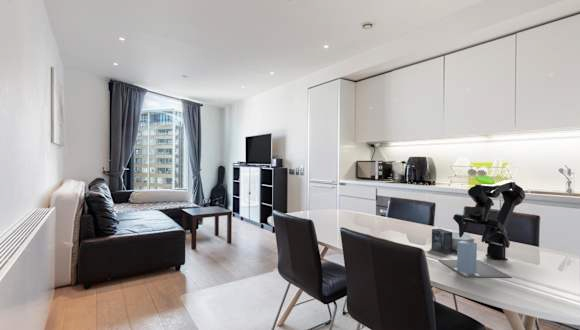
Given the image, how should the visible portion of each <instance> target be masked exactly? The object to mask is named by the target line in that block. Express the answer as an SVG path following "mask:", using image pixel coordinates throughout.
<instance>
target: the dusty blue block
mask: <svg viewBox="0 0 580 330" xmlns="http://www.w3.org/2000/svg"><path fill="white" fill-rule="evenodd" d="M477 243H478V242H477ZM477 243H476V242H474V243H473V242H469V241H465V240H464V241H460V242H458V247H457V250H456V252H457V253H456V255H457V256H456V257H457V258H456V260H457V271H459V272H462V273H465V274H468V275H471V274H474V273H476V260H478V259H477V256H478V255H477V251H478V244H477Z"/></svg>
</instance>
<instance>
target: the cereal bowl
mask: <svg viewBox="0 0 580 330" xmlns="http://www.w3.org/2000/svg"><path fill="white" fill-rule="evenodd" d="M451 232H452V251H457V247H458V242H460V241H464V240H465V241H469V242H473V243H475V237H474V236H472V235H470V234H466V233H464V234H463V236H462V237H459V232H455V231H451Z"/></svg>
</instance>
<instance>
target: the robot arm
mask: <svg viewBox="0 0 580 330" xmlns="http://www.w3.org/2000/svg"><path fill="white" fill-rule="evenodd" d="M467 194H468V196H469V197H470V198H471V199H472V200H473V202H474V203H475V206H472V207H471V206H465V209H464V214H459V213H456V214H453V218H452V219H453V220H454V221H455V222H456V223H457V225H458V233H459V237H462V236H463V234H465V231H467V228H468V224H473V225H480V226H485V229H484V232H483V234H482V236H481V241H480V242H481V243H484V244H487V248H486V254H485V257H488V258H491V259H492V260H495V261H501V260H502V261H507V260H509V258H507V257H506V253H507V249H508V248H510V246H511V245H510V244H511V242H510V239H509V237H508V233H507V231H506V229H507V226H508V224H509V221H510V219H511V217H512V215H513V212H514V211H515V208H516V207H517V206H518V205H520V204H522V202H523V200H524V199H525V197H526V193H525V191H524V188H522V186H519V185H518V184H516V182H515V181H513V180H501V181H500V182H496V183H494V184H485V183H483V184H480V183H479V184H477V183H476V184H475V185H474V186H472V187H470V188H469V189H468V190H467ZM501 195H502V198H503V203H502V206H501V208H500V210H499V211H498V214H497V216H496V218H495V219H492V218H490V216H491V214H490V211H491V208H492V207H493V206H495V204H494V201H493V199H494V198H495V199H497V198H498V197H499V196H501ZM492 198H493V199H492ZM465 215H467V216H468V218H467V217H466V216H465ZM488 218H489V219H488Z"/></svg>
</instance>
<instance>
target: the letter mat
mask: <svg viewBox="0 0 580 330" xmlns="http://www.w3.org/2000/svg"><path fill="white" fill-rule="evenodd" d="M438 262H440V263H441V264H442V265H444V266H446V267H448V268H449V269H451V270H452V271H454V272H455V273H457V274H458V275H460V276H462V277H463V278H466V279H467V278H470V279H471V278H477V279H478V278H481V279H482V278H483V279H484V278H487V279H489V278H490V279H491V278H492V279H494V278H495V279H511V278H512V275H509V274H507V273H505V272H503V271H501V270H500V269H497V268H495V267H493V266H491V265H489V264H488V263H485V262H483V261H482V260H479V259H476V273H474V274H471V275H468V274H465V273H462V272H459V271H457V259H438Z"/></svg>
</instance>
